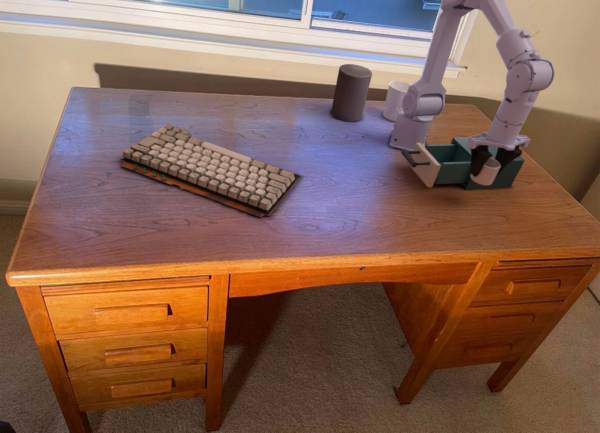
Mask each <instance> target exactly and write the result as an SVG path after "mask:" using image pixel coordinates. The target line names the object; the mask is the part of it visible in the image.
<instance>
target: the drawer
mask: <svg viewBox="0 0 600 433" xmlns="http://www.w3.org/2000/svg"><path fill="white" fill-rule="evenodd" d="M400 153H401V155H402V156H403V158H404V159H405V160H406V161H407V162H408V165H409V166H410V167H411V168H412V170H413V171H414V172H415V174H416V175H417V176H418V177H419V178H420V180H421V181H422V182H423V183H424V184H425V186H426V187H427V188H433V187H434V184H435V185H448V184H460V183H467V181H468V178H469V176H470V174H471V173H470V166H471V158H470V157H469V156H468V155H467V154H466V153H465V152H464V151H463V150H462V149H461V148H460V147H459V146H458V145H457V144H451V143H438V144H437V143H435V144H434V143H433V144H425V145H424V146H423V145H422V144H421V143H416V145H415V148H414V151H407V150H406V149H401V151H400Z"/></svg>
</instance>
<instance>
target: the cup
mask: <svg viewBox="0 0 600 433" xmlns="http://www.w3.org/2000/svg"><path fill="white" fill-rule="evenodd" d="M500 168H501V164H500V163H499V162H498V161H497V160H495V159H494V158H491V157H490V158H489V159H488V160H487V162H486V163H485V164H484V166H483V168H482V169H481V171H480V173H479V175H478V176H477V177H474V176H473V175H472V174H470V177H471V179H472V180H473V181H475V182H476V183H478V184H481V185H491V184H492V183H493V181H494V180H495V178H496V176H497V174H498V172H499V170H500Z"/></svg>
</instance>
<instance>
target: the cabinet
mask: <svg viewBox="0 0 600 433" xmlns="http://www.w3.org/2000/svg"><path fill="white" fill-rule="evenodd" d="M468 138H469V136H463V137H462V136H461V137H459V136H457V137H452V139H451V141H450V144H457V145H458V146H459V147H460V148H461V149H462V150H463V151H464V152H465V153H466V154H467V155H468V156H469V157H470V158H471V148H470V147H469V146H468V145H467V144H466V143H467V141H468ZM488 149H489V150H488V151H489V152H490V153H491V154H492V155H493V156H491V158H494V159H495V157H496V154H497V150H498V147H494V146H491V147H488ZM525 161H526V160H525V159H524V158H523V157H522V156H519V157H517V158H516V159H514V160H513V161H512V162H510V163H509V164H508V165H507V166H506V167H505V168H504V169H503V170H502V172H501V173H500V174H499V175H498V176H496V178H495V180H494V181H493V183H492V184H491V185H481V184H478V183H476V182H475V181H473V180H472V179H471V177H470V176H469V178H468V181H467V183H459V185H461V186H462V187H463V189H464V190H469V191H470V190H483V189H485V190H486V189H499V188H511V187H512V185H513V184H514V182H515V180H516V179H517V176H518V175H519V172H520V170H521V168H522V167H523V165H524V162H525Z"/></svg>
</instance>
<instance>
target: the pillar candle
mask: <svg viewBox="0 0 600 433" xmlns="http://www.w3.org/2000/svg"><path fill="white" fill-rule="evenodd" d="M372 77H373V71H371V70H370V69H369V68H368V67H365V66H362V65H359V64H354V63H346V64H345V63H344V64H342V65H340V66H339V68H338V74H337V78H336V84H335V87H334V94H333V99H332V104H331V105H332V106H331V109H330V113H331V115H332V116H333V117H335V119H338V120H341V121H344V122H357V121H360V120H361V119H362V118H363V113H364V110H365V105H366V101H367V97H368V92H369V90H370V84H371V80H372Z"/></svg>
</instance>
